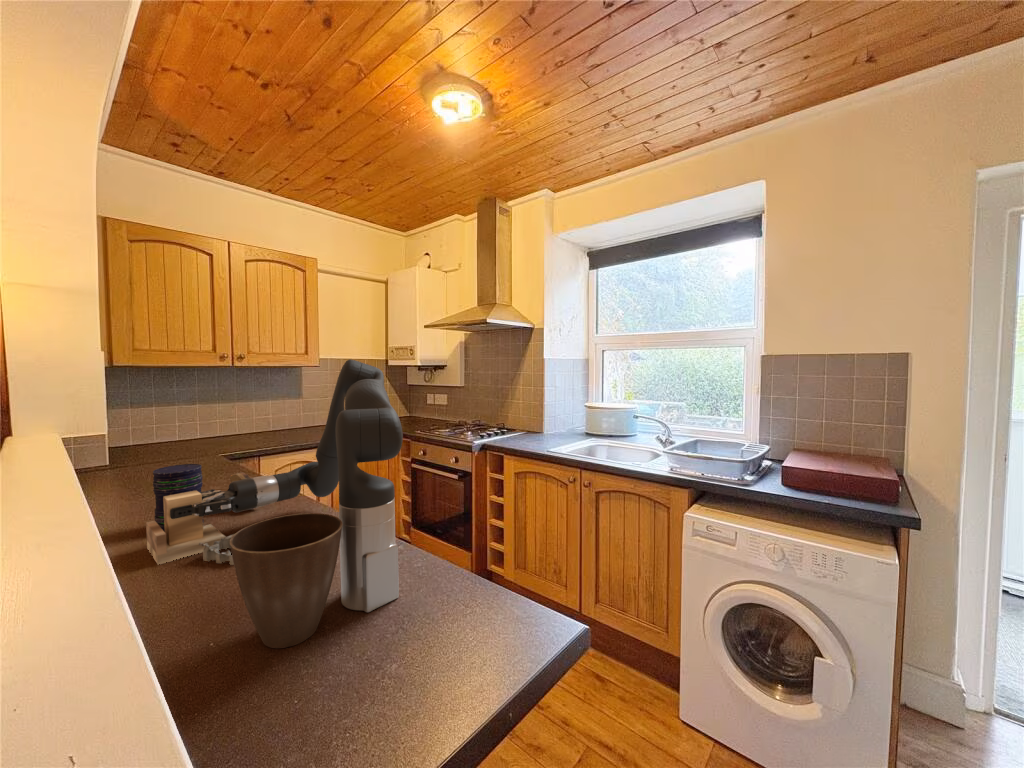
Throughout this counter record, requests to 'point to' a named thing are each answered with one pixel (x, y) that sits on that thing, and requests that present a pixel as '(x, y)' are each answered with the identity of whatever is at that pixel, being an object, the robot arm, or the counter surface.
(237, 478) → the wooden carving
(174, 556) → the birch board
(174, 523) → the oak plank block
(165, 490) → the storage jar
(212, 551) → the egg carton
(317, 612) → the plant pot
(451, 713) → the counter surface
